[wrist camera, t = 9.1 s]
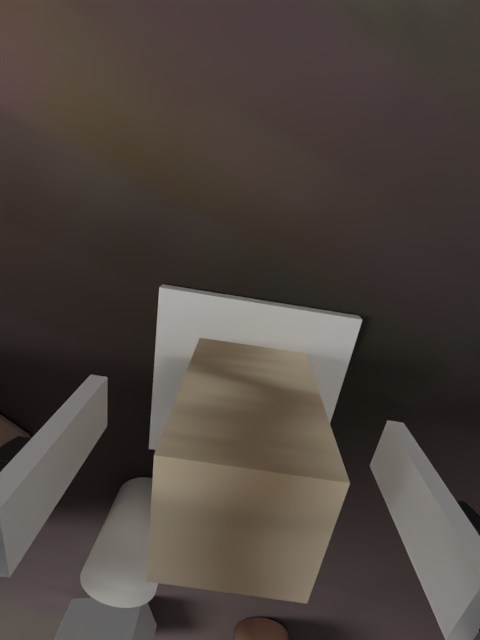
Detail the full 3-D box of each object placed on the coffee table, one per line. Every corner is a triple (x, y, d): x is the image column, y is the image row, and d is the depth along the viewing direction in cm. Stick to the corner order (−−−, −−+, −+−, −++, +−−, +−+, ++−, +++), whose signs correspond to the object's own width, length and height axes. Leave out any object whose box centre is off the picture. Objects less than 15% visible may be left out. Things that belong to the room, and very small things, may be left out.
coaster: (151, 441, 20) (148, 448, 19) (162, 284, 16) (159, 287, 15) (312, 465, 20) (314, 473, 19) (358, 315, 16) (362, 319, 16)
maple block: (190, 424, 18) (145, 581, 11) (199, 337, 16) (154, 455, 9) (285, 438, 18) (307, 603, 11) (306, 353, 16) (349, 483, 9)
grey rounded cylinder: (117, 516, 22) (80, 602, 17) (118, 473, 21) (79, 553, 16) (174, 525, 22) (153, 612, 17) (180, 482, 21) (158, 564, 16)
